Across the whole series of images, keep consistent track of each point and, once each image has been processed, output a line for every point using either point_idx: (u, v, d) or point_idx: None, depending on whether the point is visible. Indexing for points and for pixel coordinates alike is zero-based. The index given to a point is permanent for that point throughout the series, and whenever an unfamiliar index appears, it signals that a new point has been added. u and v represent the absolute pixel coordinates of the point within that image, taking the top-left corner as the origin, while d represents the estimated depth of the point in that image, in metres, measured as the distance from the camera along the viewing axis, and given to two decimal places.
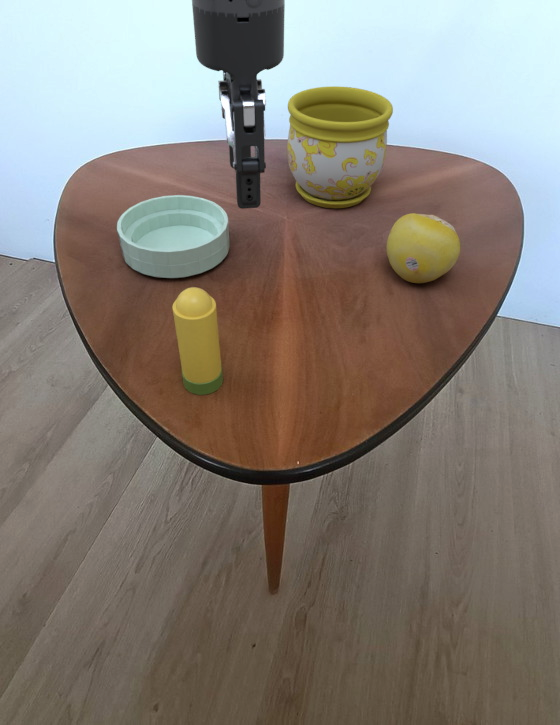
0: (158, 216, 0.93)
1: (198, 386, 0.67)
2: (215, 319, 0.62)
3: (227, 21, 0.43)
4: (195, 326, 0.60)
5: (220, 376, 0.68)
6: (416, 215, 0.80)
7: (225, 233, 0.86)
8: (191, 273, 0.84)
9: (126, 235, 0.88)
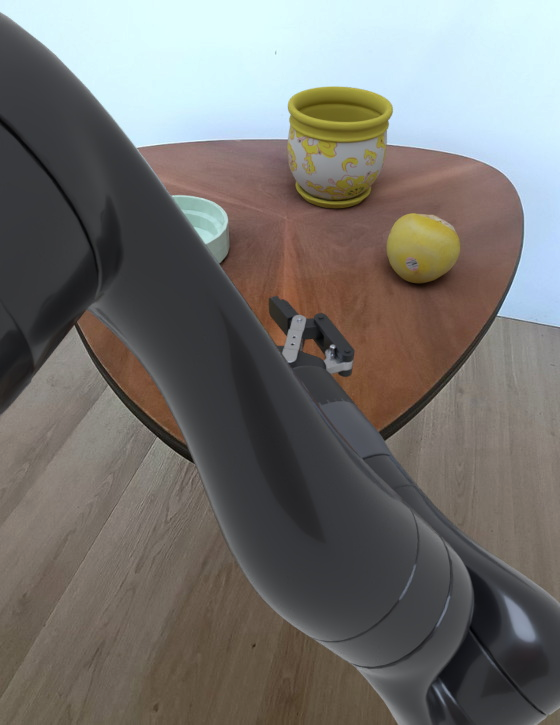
0: None
1: None
2: None
3: None
4: None
5: None
6: (416, 215, 0.80)
7: (225, 233, 0.86)
8: None
9: None
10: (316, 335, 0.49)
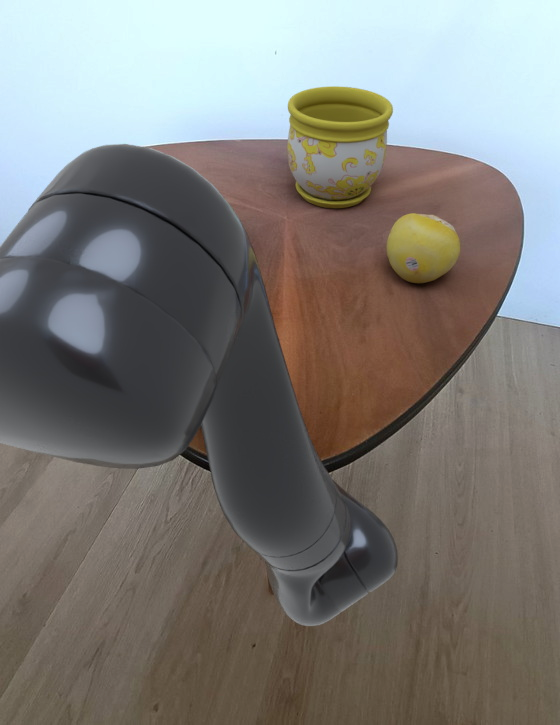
0: None
1: None
2: None
3: None
4: None
5: None
6: (416, 215, 0.80)
7: None
8: None
9: None
10: None
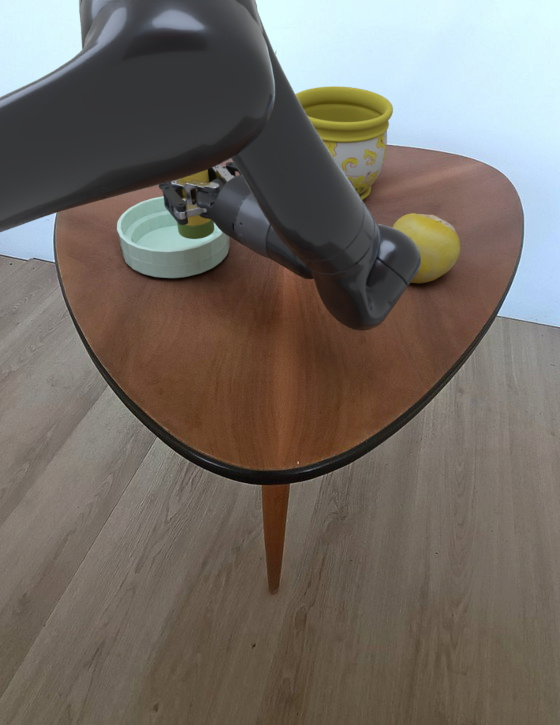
0: (158, 216, 0.93)
1: (197, 229, 0.74)
2: None
3: (233, 216, 0.62)
4: None
5: None
6: (416, 215, 0.80)
7: None
8: (191, 273, 0.84)
9: (126, 235, 0.88)
10: None
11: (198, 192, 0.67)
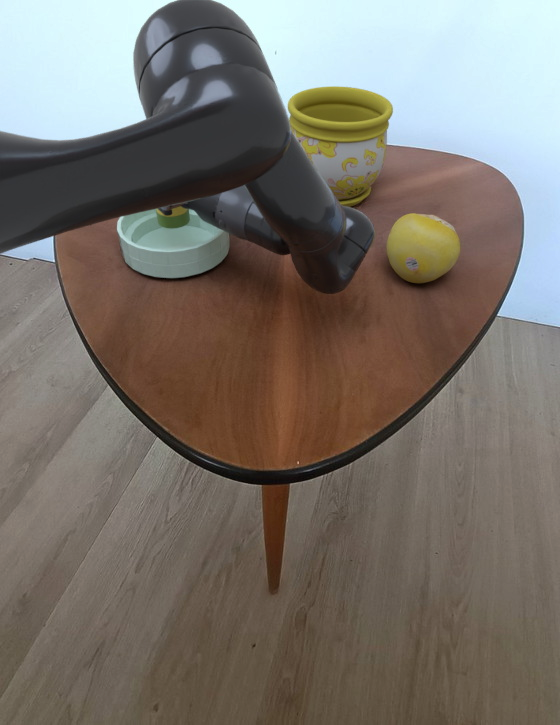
0: None
1: (175, 219, 0.84)
2: None
3: (213, 205, 0.72)
4: None
5: (188, 210, 0.86)
6: (416, 215, 0.80)
7: (225, 233, 0.86)
8: (191, 273, 0.84)
9: (126, 235, 0.88)
10: None
11: None
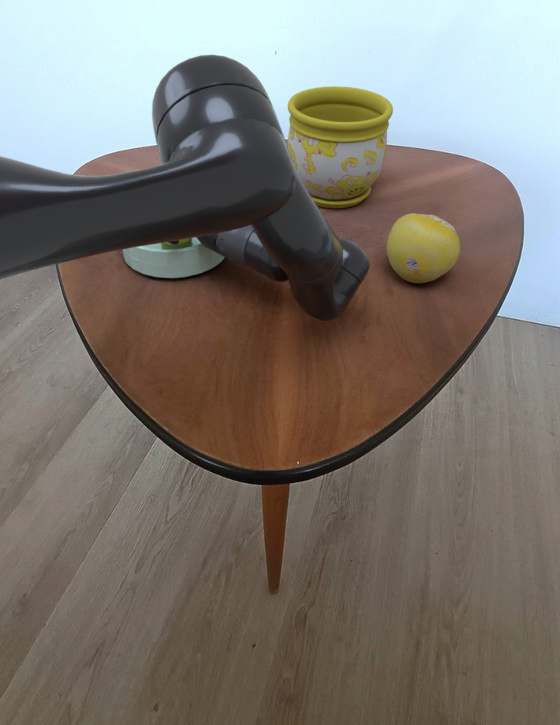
0: None
1: (179, 247, 0.87)
2: None
3: (214, 233, 0.75)
4: None
5: (191, 238, 0.89)
6: (416, 215, 0.80)
7: None
8: (191, 273, 0.84)
9: None
10: None
11: None
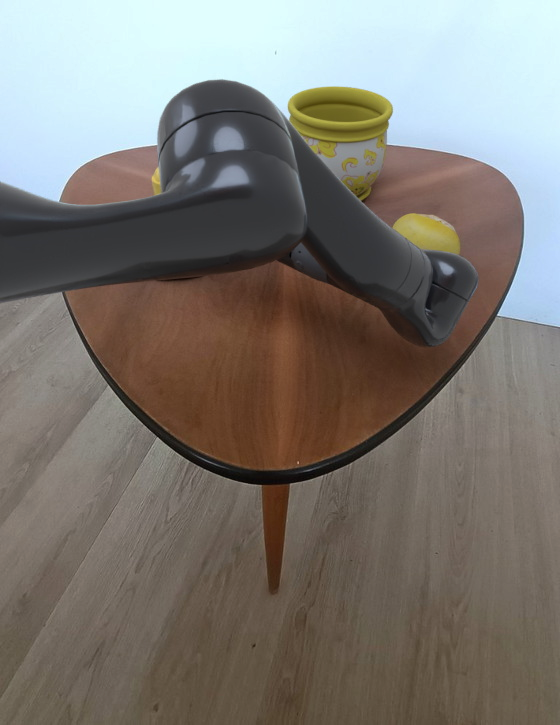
0: None
1: None
2: None
3: None
4: None
5: None
6: (416, 215, 0.80)
7: None
8: None
9: None
10: None
11: None
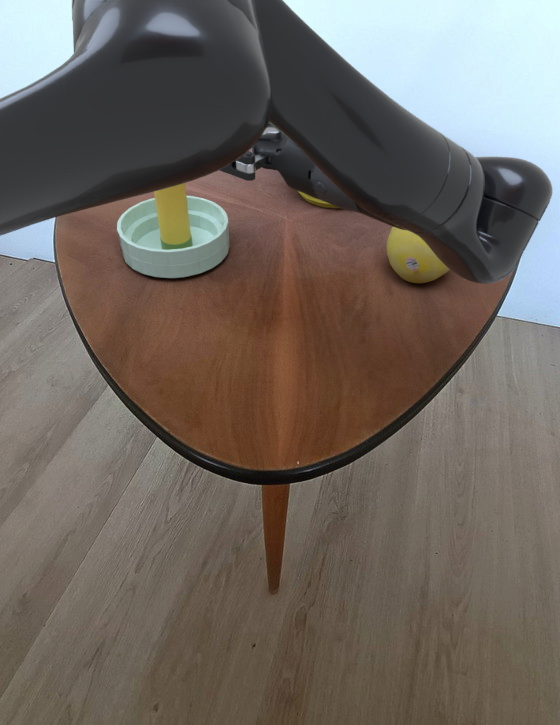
0: None
1: (179, 247, 0.87)
2: None
3: (310, 162, 0.53)
4: (174, 190, 0.81)
5: (191, 238, 0.89)
6: None
7: (225, 233, 0.86)
8: (191, 273, 0.84)
9: (126, 235, 0.88)
10: None
11: None
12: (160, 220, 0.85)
